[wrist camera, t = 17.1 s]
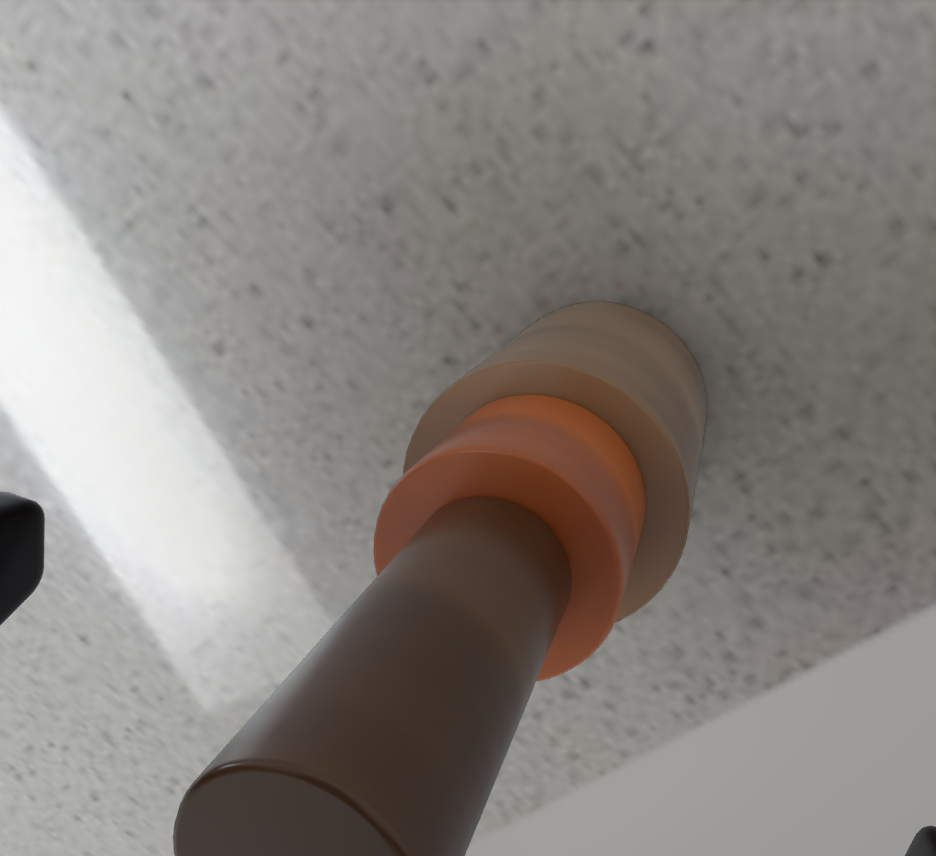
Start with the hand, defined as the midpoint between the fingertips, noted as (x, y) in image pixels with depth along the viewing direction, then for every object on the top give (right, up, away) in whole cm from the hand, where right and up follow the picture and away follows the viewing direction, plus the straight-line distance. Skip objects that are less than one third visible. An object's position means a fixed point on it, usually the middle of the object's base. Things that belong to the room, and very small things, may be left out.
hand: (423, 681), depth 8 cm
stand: (+3, +3, +9) cm, 10 cm away
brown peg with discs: (+1, +1, +4) cm, 5 cm away
